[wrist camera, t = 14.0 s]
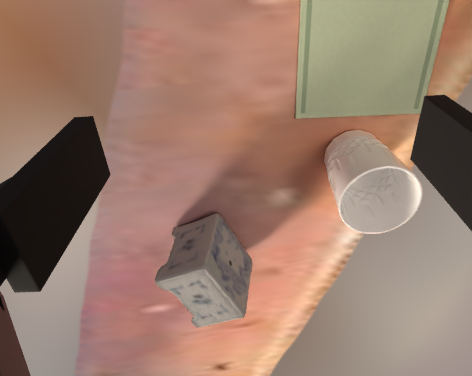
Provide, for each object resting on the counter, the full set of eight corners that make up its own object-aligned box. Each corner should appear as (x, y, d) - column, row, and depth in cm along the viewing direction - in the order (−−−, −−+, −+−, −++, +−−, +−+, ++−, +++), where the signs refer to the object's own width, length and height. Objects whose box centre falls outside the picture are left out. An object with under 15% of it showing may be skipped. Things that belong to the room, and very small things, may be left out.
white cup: (391, 170, 44) (428, 219, 35) (328, 191, 46) (349, 243, 37) (378, 113, 40) (416, 153, 32) (310, 139, 42) (329, 183, 33)
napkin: (304, -81, 31) (305, -82, 30) (469, -90, 30) (471, -91, 30) (295, 117, 40) (295, 118, 40) (420, 112, 40) (422, 113, 40)
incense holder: (166, 230, 49) (150, 288, 40) (218, 205, 47) (214, 261, 38) (203, 275, 53) (197, 336, 45) (253, 255, 51) (256, 315, 42)
